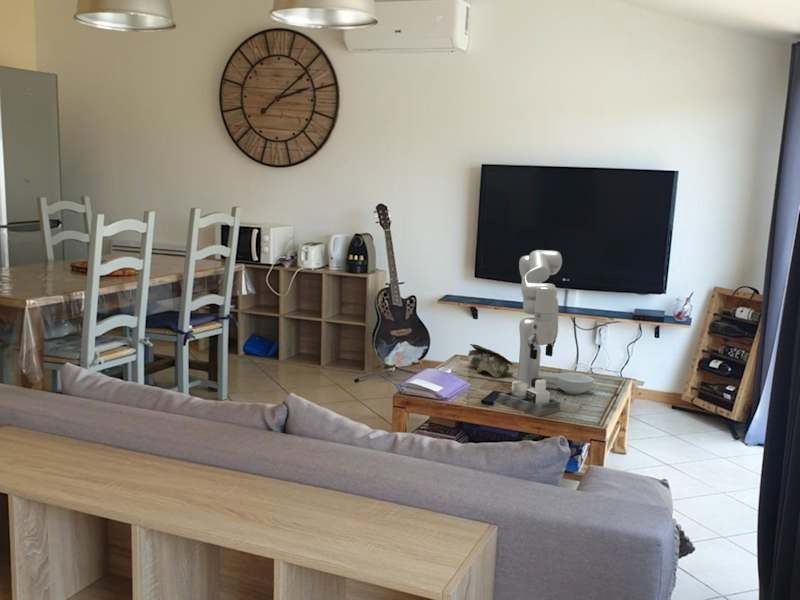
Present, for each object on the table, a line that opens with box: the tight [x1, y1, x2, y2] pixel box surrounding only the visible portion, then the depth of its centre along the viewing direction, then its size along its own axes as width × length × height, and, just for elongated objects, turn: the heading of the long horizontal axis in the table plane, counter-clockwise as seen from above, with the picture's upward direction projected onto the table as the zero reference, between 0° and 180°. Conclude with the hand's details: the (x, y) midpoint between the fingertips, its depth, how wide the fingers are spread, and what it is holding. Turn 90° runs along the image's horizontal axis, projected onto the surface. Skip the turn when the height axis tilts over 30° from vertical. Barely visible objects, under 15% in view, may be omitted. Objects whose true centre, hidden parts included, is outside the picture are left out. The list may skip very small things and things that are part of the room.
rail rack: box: [498, 380, 562, 417], centre depth 336 cm, size 22×13×9 cm, turn 40°
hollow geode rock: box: [467, 343, 514, 379], centre depth 391 cm, size 28×13×15 cm
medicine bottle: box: [526, 377, 551, 405], centre depth 332 cm, size 7×7×12 cm
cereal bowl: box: [554, 372, 594, 395], centre depth 361 cm, size 17×17×7 cm
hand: (541, 357), depth 329 cm, fingers open, 9 cm apart
